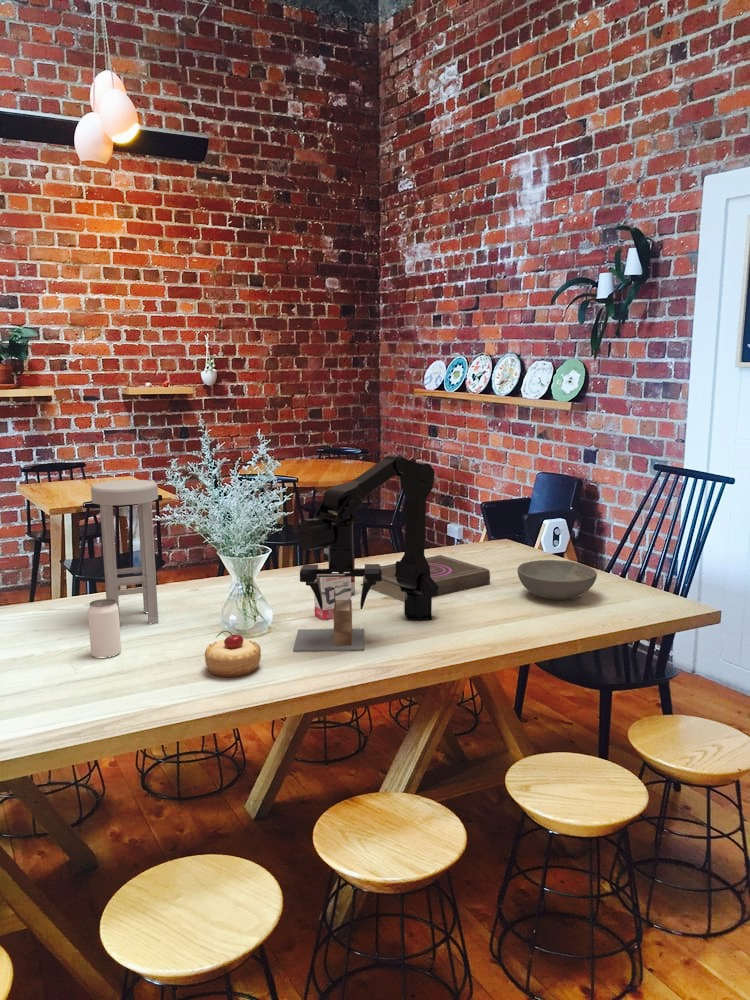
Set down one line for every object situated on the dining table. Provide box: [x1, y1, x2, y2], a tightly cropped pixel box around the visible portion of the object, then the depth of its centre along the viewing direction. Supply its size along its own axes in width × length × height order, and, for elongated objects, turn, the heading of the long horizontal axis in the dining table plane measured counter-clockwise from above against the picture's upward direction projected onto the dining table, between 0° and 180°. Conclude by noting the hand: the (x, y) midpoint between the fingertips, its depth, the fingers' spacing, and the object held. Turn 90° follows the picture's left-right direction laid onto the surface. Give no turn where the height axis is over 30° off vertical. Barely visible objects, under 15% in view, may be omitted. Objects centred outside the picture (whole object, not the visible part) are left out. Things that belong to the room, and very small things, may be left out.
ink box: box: [313, 572, 352, 621], centre depth 204 cm, size 8×5×12 cm, turn 123°
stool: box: [90, 479, 159, 624], centre depth 200 cm, size 16×16×35 cm
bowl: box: [517, 559, 598, 601], centre depth 219 cm, size 21×21×8 cm
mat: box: [292, 628, 365, 653], centre depth 186 cm, size 16×14×1 cm
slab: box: [333, 599, 353, 646], centre depth 186 cm, size 4×9×8 cm, turn 1°
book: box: [360, 554, 491, 603], centre depth 232 cm, size 30×22×5 cm
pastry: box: [204, 630, 262, 678], centre depth 169 cm, size 12×12×9 cm
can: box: [87, 598, 122, 658], centre depth 178 cm, size 6×6×12 cm
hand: (341, 608), depth 185 cm, fingers open, 9 cm apart
